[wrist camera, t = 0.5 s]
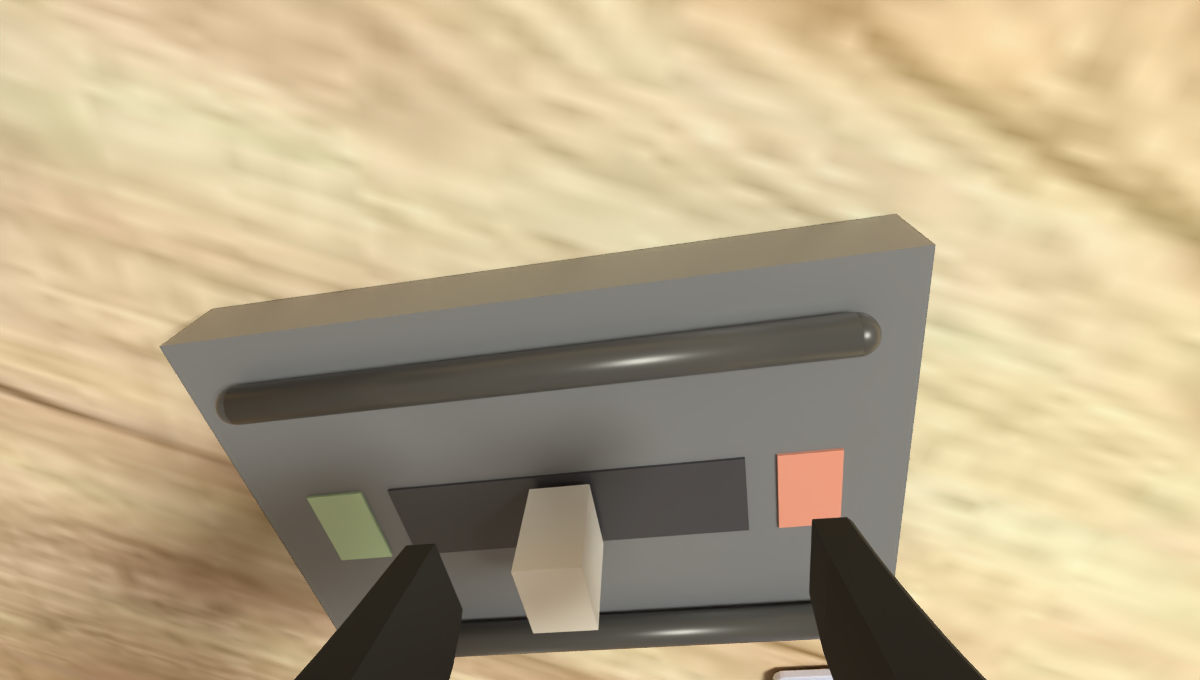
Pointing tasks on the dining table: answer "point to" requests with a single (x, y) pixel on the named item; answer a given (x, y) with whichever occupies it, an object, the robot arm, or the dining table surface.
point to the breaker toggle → (560, 560)
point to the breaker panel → (587, 424)
